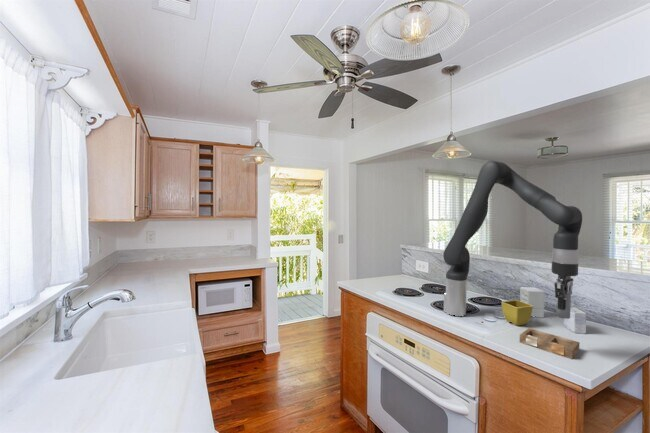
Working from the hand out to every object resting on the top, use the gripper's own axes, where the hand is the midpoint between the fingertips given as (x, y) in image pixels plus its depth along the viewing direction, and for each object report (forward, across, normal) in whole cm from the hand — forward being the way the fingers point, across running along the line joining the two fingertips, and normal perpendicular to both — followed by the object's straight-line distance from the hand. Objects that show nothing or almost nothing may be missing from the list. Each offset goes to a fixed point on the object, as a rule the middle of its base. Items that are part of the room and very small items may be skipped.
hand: (563, 307), depth 109 cm
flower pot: (+16, -15, -20) cm, 30 cm away
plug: (+3, 0, 0) cm, 3 cm away
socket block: (+16, 0, -4) cm, 16 cm away
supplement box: (+16, -33, -20) cm, 41 cm away
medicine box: (+16, -27, -2) cm, 31 cm away
